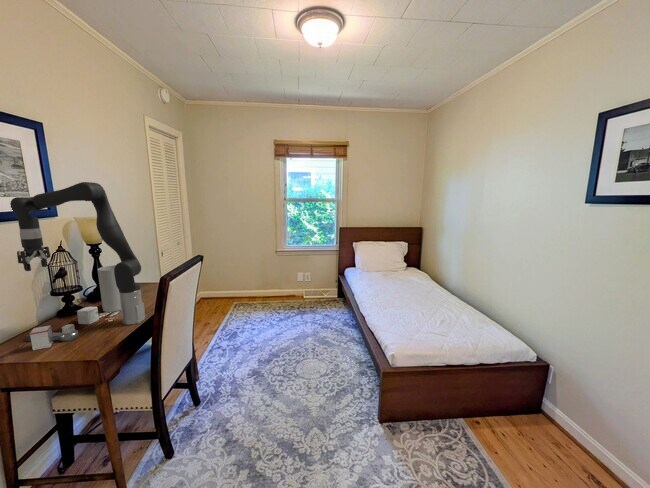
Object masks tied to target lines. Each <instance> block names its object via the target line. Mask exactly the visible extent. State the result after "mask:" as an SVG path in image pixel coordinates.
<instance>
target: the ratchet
mask: <svg viewBox="0 0 650 488" xmlns="http://www.w3.org/2000/svg"><path fill="white" fill-rule="evenodd" d="M24 336H25V337H24V338H25V342H31V337H30V333H28V334H26V335H24ZM52 337H53V341H60V342H62V343H65V342H66V343H67V342H71V341H74V340H76V339H79V337H80V335H79V330H78V329H75V324H72V323H70V324H66V325H63V326H61V332H52Z"/></svg>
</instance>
